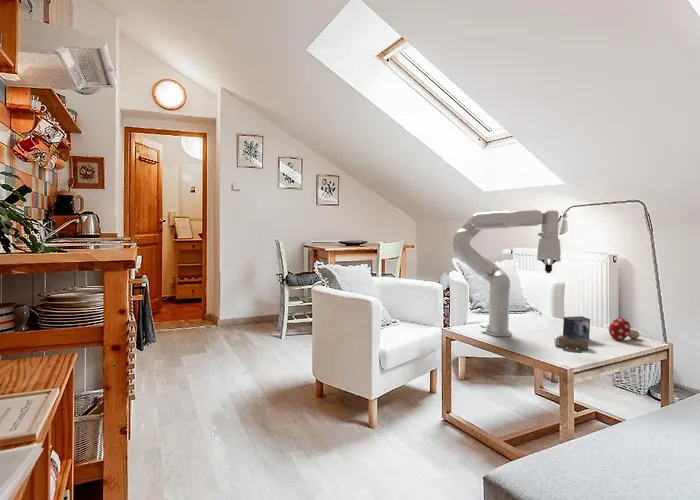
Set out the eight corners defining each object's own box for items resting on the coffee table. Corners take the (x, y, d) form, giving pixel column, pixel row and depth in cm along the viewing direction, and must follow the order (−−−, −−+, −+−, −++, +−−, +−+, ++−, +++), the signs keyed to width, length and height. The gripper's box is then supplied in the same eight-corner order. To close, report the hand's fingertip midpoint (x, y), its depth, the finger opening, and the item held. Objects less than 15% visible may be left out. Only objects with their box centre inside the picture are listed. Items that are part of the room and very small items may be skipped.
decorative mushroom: (640, 320, 224) (615, 310, 221) (651, 337, 215) (625, 327, 212) (624, 334, 230) (600, 325, 227) (634, 351, 221) (609, 342, 218)
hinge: (556, 349, 204) (557, 340, 204) (560, 341, 217) (560, 332, 217) (586, 353, 198) (587, 343, 198) (588, 345, 211) (589, 336, 210)
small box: (570, 341, 218) (571, 319, 217) (562, 337, 224) (562, 316, 223) (590, 340, 220) (590, 318, 219) (580, 336, 226) (581, 315, 226)
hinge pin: (554, 345, 210) (554, 337, 209) (555, 343, 213) (555, 335, 213) (587, 350, 203) (587, 341, 202) (587, 347, 206) (588, 339, 206)
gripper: (532, 235, 223) (531, 272, 224) (565, 236, 215) (564, 274, 217) (534, 235, 229) (533, 271, 231) (567, 235, 222) (565, 272, 223)
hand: (548, 272), depth 224 cm, fingers closed
